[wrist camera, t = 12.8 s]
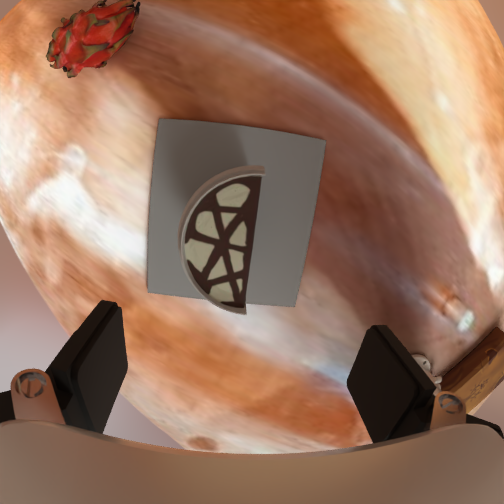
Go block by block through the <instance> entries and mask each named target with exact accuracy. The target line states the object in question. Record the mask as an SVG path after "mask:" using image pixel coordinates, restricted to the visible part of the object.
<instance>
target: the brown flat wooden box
mask: <svg viewBox="0 0 504 504" xmlns="http://www.w3.org/2000/svg"><path fill="white" fill-rule="evenodd" d="M503 380H504V332H503V331H501V330H500V329H499V328H498V327H496V328H495V329H494V330H493V331H492V332H491V333H490V334H489V335H488V336H487V337H486V338H485V339H484V340H483V341H482V342H481V343H480V344H479V345H478V346H477V347H476V348H475V349H474V350H473V351H472V352H471V353H470V354H469V355H467V356H466V357H465V358H464V359H463V360H462V361H461V362H460V363H459V364H457V365H456V366H455V367H454V368H453V369H452V370H450V371H449V372H448V373H447V374H446V375H444V376H443V377H442V381H441V382H440V383H437V384H440V386H441V391H448V392H452V393H454V394H456V395H458V396H459V397H461V399H462V400H463V401H464V403H465V405H466V414H467V413H469V412H470V411H471V410H472V409H473V408H474V407H476V406H477V405H478V404H479V403H480V402H481V401H482V400H483V399H484V398H486V397H487V396H488V395H489V394H490V393H491V392H492V391H493V390H494V389H495V388H496V387H497V386H498V385H499V384H500V383H501V382H502V381H503Z"/></svg>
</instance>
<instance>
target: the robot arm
mask: <svg viewBox="0 0 504 504" xmlns="http://www.w3.org/2000/svg"><path fill="white" fill-rule="evenodd" d="M127 369H128V361H127V354H126V346H125V337H124V328H123V317H122V309H121V307H118V305H117V303H116V302H111V301H105V300H101V301H100V302H99V303H98V305H97V306H96V307H95V308H94V310H93V311H92V312H91V313H90V314H89V316H88V317H87V318H86V319H85V321H84V322H83V323H82V324H81V326H80V327H79V328H78V330H76V331H75V332H74V333H73V335H72V336H71V337H70V339H69V340H68V341H67V343H66V344H65V345H64V347H63V348H62V349H61V350H60V352H59V353H58V355H57V356H56V357H55V359H54V360H53V361H52V363H51V364H50V366H49V367H48V368H47V370H46V371H45V372H44V371H41V370H39V369H26V370H23V371H21V372H19V373H17V374H16V375H15V376H14V378H13V379H12V382H11V390H9V391H6V392H2V393H0V504H504V436H503V433H502V431H501V429H500V427H499V426H498V425H496V424H493V423H491V422H488V421H485V420H482V419H479V418H476V417H474V416H471V415H469V414H466V405H465V403H464V401H463V400H462V399H461V397H459V396H458V395H456V394H454V393H452V392H448V391H441V386H440V384H437V383H440V382H441V381H442V377H441V376H438V377H433V376H432V375H431V373H430V362H429V361H428V359H427V358H426V357H425V356H423V355H419V354H415V355H411V354H410V353H409V352H408V351H407V349H406V348H405V347H404V346H403V344H402V343H401V342H400V341H399V340H398V338H397V337H396V336H395V335H394V334H393V332H392V331H391V330H390V329H389V328H388V327H387V326H386V325H373V326H372V327H371V328H370V329H368V330H367V331H366V334H365V337H364V339H363V342H362V344H361V347H360V350H359V352H358V355H357V357H356V360H355V362H354V364H353V367H352V369H351V372H350V374H349V376H348V379H347V387H348V390H349V392H350V394H351V396H352V398H353V400H354V402H355V405H356V407H357V409H358V411H359V413H360V415H361V418H362V420H363V422H364V424H365V426H366V428H367V431H368V433H369V435H370V437H371V439H372V442H373V444H368V445H362V446H356V447H350V448H343V449H335V450H327V451H317V452H306V453H290V454H229V453H213V452H201V451H191V450H183V449H175V448H169V447H162V446H156V445H151V444H145V443H140V442H135V441H129V440H125V439H121V438H116V437H112V436H108V435H104V434H103V431H104V428H105V426H106V423H107V420H108V418H109V415H110V413H111V410H112V407H113V404H114V402H115V400H116V397H117V395H118V392H119V390H120V387H121V385H122V382H123V380H124V378H125V375H126V373H127Z"/></svg>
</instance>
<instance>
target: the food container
mask: <svg viewBox="0 0 504 504" xmlns="http://www.w3.org/2000/svg"><path fill="white" fill-rule="evenodd" d="M265 175H266V174H265V168H264V166H256V165H250V166H241V167H236V168H233V169H229V170H226V171H224V172H222V173H220V174H217V175H215V176H214V177H212V178H211V179H209V180H208V181H206V182H205V183H204V184H203V185H202V186H201V187H200V188H199V189H198V190H197V191H196V192H195V193H194V194H193V196H192V197H191V198H190V200H189V201H188V203H187V205H186V207H185V209H184V211H183V213H182V216H181V219H180V222H179V229H178V250H179V255H180V260H181V264H182V267H183V269H184V272H185V274H186V276H187V278H188V279H189V281H190V283H191V284H192V285H193V286H194V288H195V289H196V290H197V291H198V292H199V293H200V294H201V295H202V296H203V297H204V298H205V299H207V300H208V301H209V302H211V303H212V304H214V305H215V306H217V307H219V308H221V309H224V310H226V311H229V312H232V313H236V314H242V315H246V291H247V284H248V277H249V270H250V263H251V256H252V250H253V242H254V234H255V226H256V219H257V211H258V204H259V197H260V189H261V181H262V176H265Z"/></svg>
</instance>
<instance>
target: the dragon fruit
mask: <svg viewBox="0 0 504 504" xmlns="http://www.w3.org/2000/svg"><path fill="white" fill-rule="evenodd" d="M106 1H107V0H104V1H98V2H97V3H96V4H95V5H94V6H93V7H92V8H91V9H90V10H89V11H87V12H85V11H83V10H80V11H79V14H78V13H75V14H73V15H72V16H71V18H70V20H67V19H65V18H62V19H61V22H62V23H63V25H64V26H63V27H58V28H57V29H56V30H55V31H54V32H53V34H52V38H53V39H52V41H51V42H50V43H49V49H48V52H47V55H46V57H47V60H48V61H49V62H53V61H55V63H54V64H53V65H51V64H50V67H53V68H54V69H59V68H62V67H63V70H64V72H67V77H68V78H71V77H76V76H77V75H78V73H79V72H80V71H81V69H82V68H83V67H94V68H101V67H104V66H105V65H106V64H107V63H106V60H108V59H110V58H111V57H112V55H113V54H114V53H115V52H116V51H117V50H119V48H120V47H121V46H123V45H124V44H125V42H126V40H127V39H128V38H129V36H130V34H131V33H132V32H133V31H134V30H132V29H133V27H134V24H135V21H136V19H137V17H138V15H139V6H140V2H138V3H137V5H136V7H134V3H133V2H135V1H136V0H121V1H118V2H117V3H114V4H112V5H110V6H107V5H105V2H106ZM97 6H102V7H101V8H98V7H97ZM126 7H132V8H129V9H127V8H126ZM134 10H135V13H134Z"/></svg>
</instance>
